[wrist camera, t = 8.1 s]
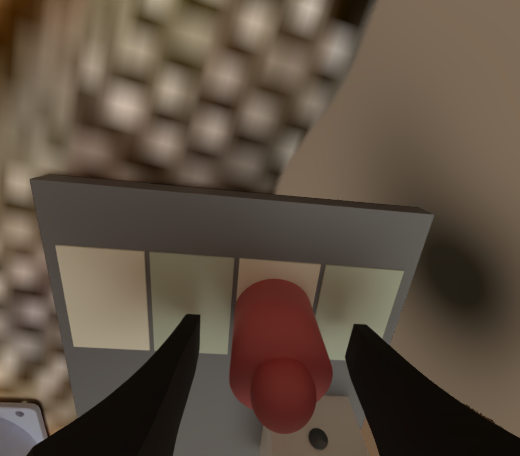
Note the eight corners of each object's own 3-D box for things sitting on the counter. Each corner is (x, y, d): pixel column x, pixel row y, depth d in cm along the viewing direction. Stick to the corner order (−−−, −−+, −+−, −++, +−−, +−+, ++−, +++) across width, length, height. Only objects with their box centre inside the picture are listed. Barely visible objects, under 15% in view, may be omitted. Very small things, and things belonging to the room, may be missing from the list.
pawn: (232, 339, 15) (221, 464, 9) (237, 275, 13) (229, 377, 8) (304, 344, 15) (335, 467, 10) (317, 281, 14) (361, 384, 8)
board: (95, 441, 19) (85, 462, 18) (49, 174, 13) (27, 179, 11) (342, 448, 20) (348, 468, 19) (419, 207, 14) (435, 215, 13)
